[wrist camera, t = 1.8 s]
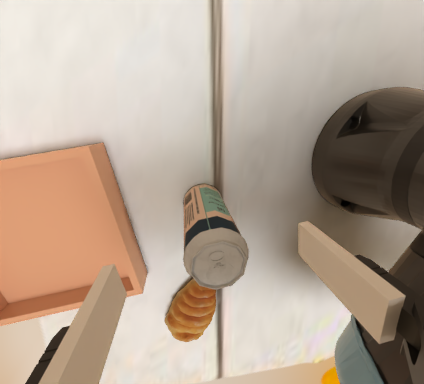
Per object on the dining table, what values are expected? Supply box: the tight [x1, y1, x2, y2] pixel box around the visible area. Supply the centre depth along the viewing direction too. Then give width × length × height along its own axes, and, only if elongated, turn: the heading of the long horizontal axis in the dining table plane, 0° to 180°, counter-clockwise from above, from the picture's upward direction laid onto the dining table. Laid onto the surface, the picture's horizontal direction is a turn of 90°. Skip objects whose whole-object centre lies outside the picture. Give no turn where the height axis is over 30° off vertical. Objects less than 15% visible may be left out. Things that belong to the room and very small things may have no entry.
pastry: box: [165, 278, 216, 342], centre depth 28 cm, size 9×7×4 cm
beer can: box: [183, 184, 248, 290], centre depth 19 cm, size 5×5×12 cm
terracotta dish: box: [0, 143, 148, 326], centre depth 21 cm, size 18×18×4 cm
